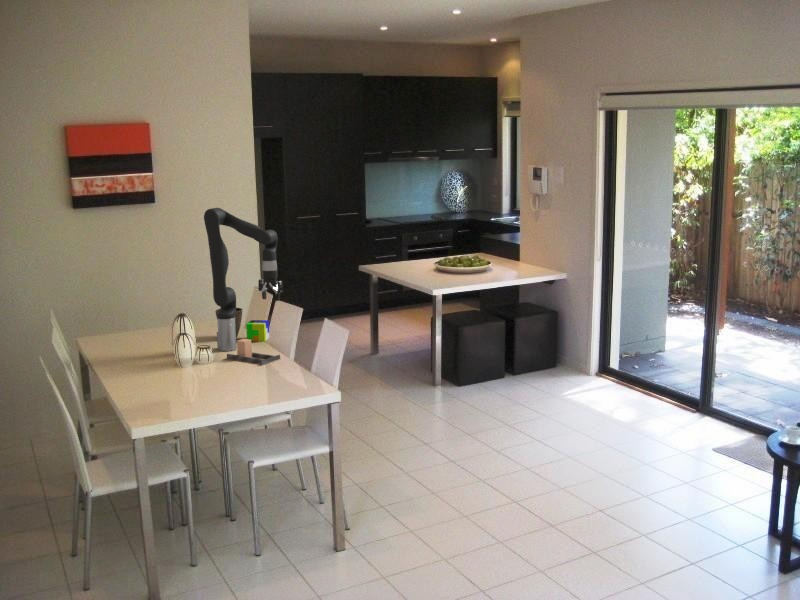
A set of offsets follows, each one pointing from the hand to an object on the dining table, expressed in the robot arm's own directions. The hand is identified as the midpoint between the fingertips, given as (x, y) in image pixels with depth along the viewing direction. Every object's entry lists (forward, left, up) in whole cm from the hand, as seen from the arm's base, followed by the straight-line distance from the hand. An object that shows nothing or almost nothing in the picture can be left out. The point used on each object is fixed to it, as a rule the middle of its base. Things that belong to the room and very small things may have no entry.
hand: (271, 299), depth 434 cm
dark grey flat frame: (+2, -20, -28) cm, 35 cm away
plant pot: (-43, +15, -28) cm, 54 cm away
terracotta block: (-2, -20, -26) cm, 33 cm away
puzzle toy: (-26, +19, -28) cm, 43 cm away
